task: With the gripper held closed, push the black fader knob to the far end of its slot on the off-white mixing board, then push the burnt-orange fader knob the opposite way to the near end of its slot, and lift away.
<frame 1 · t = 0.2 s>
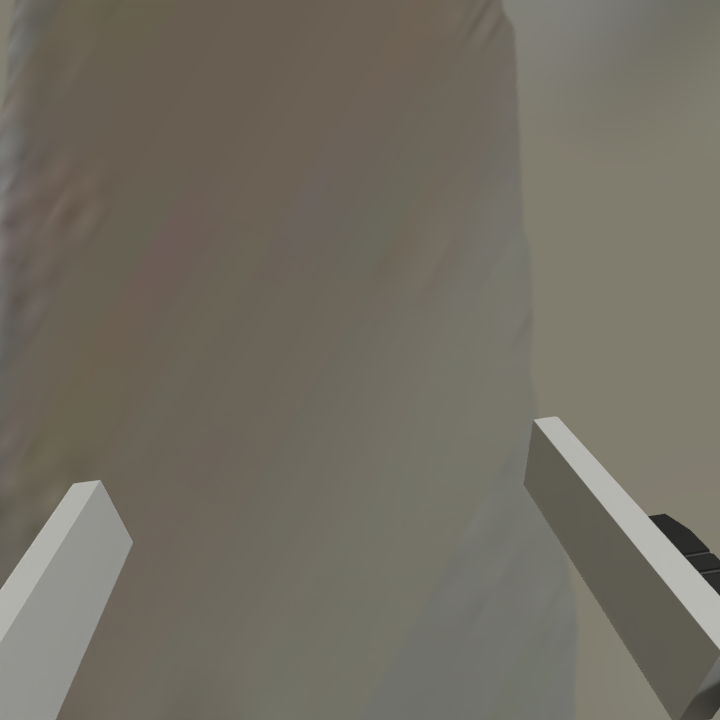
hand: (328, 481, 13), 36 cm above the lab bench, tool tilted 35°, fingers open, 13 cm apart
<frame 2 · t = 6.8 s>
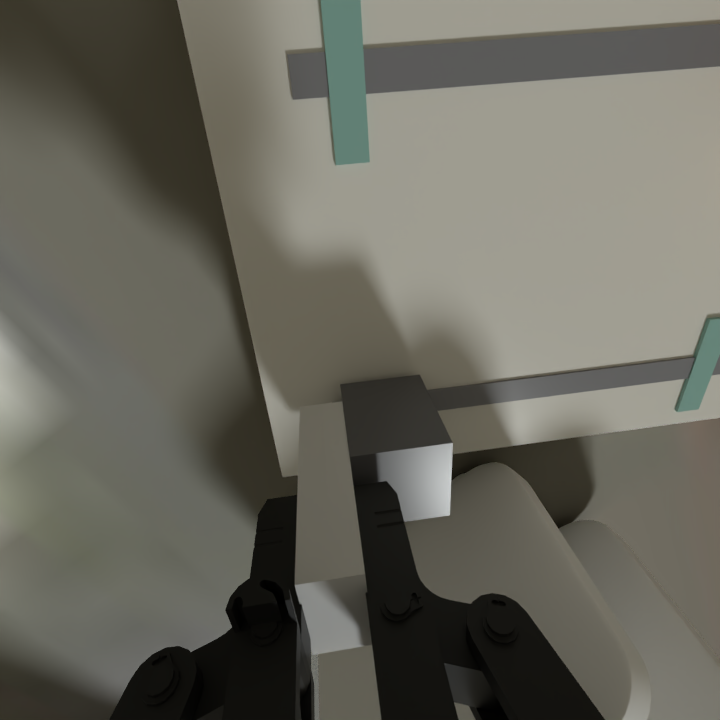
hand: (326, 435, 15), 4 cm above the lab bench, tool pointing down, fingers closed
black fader: (391, 445, 14), point 5 cm above the lab bench, slide at 0.4 cm, touching gripper
cable organizer: (458, 545, 25), on the lab bench
mixing board: (527, 236, 16), on the lab bench
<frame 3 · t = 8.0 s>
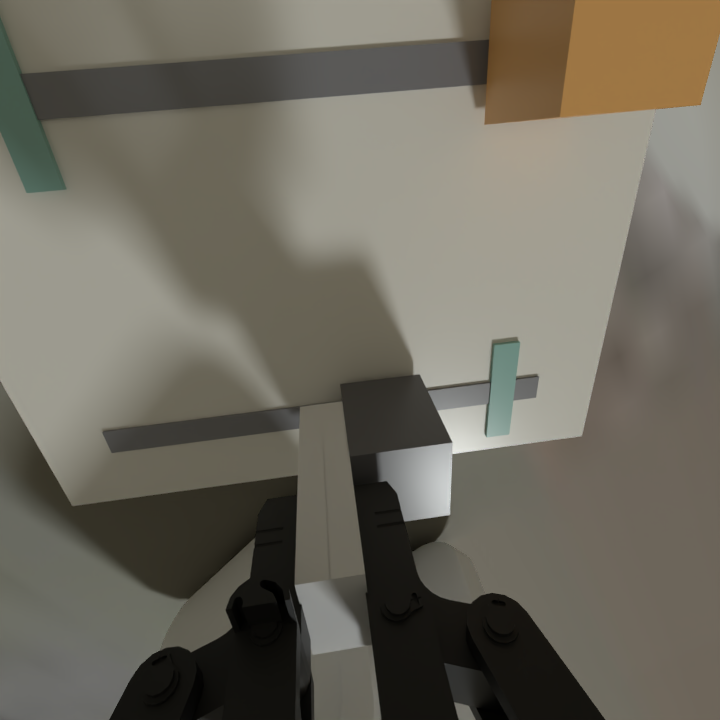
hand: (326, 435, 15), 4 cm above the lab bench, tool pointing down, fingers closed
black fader: (391, 445, 14), point 5 cm above the lab bench, slide at 9.1 cm, touching gripper
orange fader: (585, 40, 9), point 5 cm above the lab bench, slide at 0.0 cm
cable organizer: (318, 566, 25), on the lab bench
mixing board: (310, 258, 16), on the lab bench
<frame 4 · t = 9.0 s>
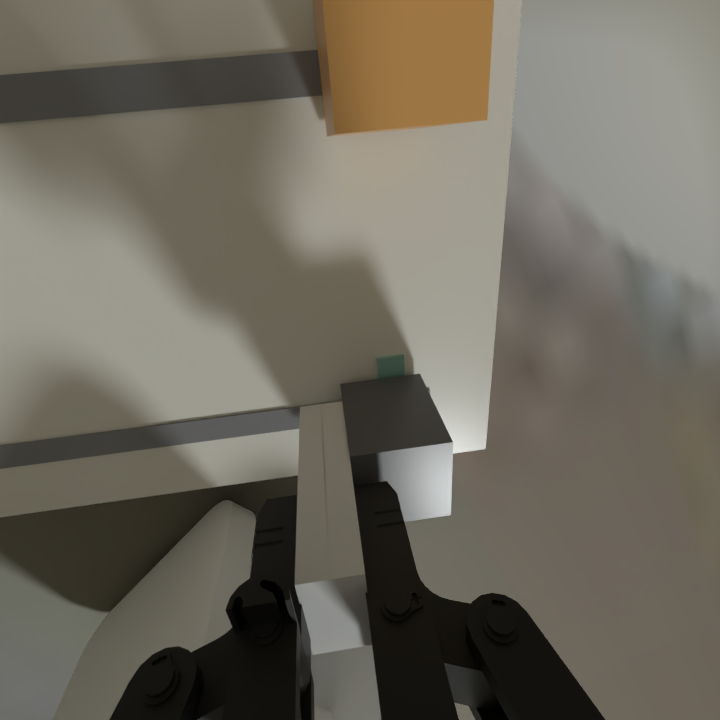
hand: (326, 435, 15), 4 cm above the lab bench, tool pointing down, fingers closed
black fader: (391, 444, 14), point 5 cm above the lab bench, slide at 13.5 cm, touching gripper
orange fader: (390, 51, 9), point 5 cm above the lab bench, slide at 0.0 cm
cable organizer: (244, 578, 24), on the lab bench
mixing board: (191, 271, 16), on the lab bench
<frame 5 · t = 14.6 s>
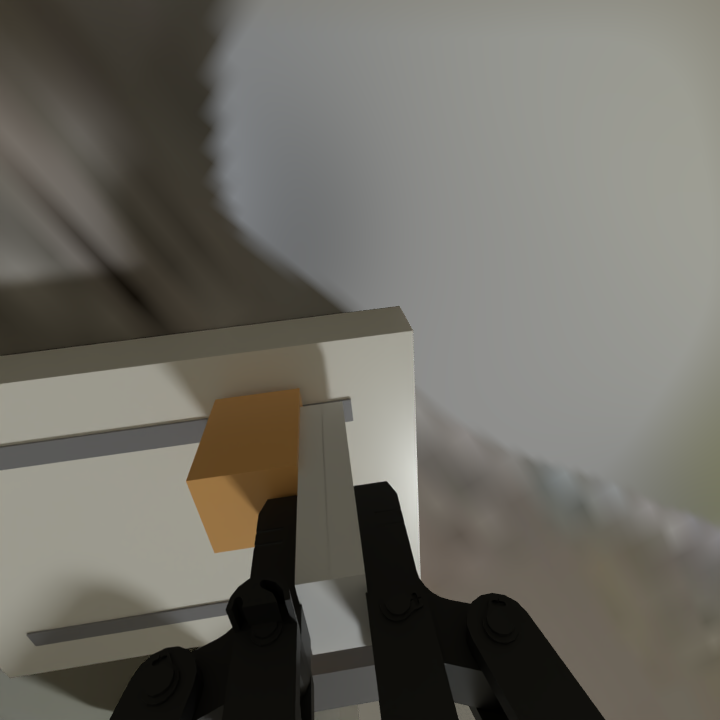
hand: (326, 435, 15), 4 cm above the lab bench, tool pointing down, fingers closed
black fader: (341, 638, 19), point 5 cm above the lab bench, slide at 13.7 cm
orange fader: (260, 463, 14), point 5 cm above the lab bench, slide at 1.8 cm, touching gripper
cable organizer: (235, 682, 29), on the lab bench
mixing board: (187, 494, 20), on the lab bench
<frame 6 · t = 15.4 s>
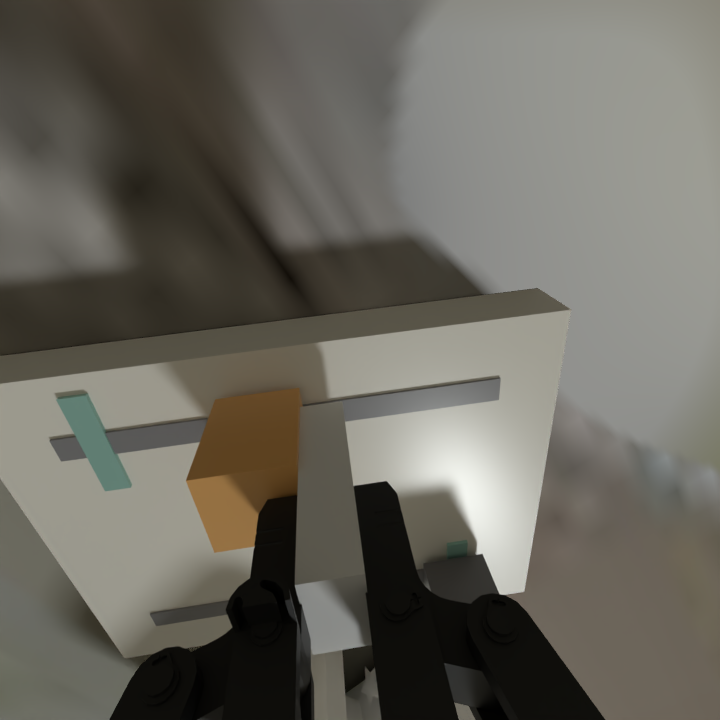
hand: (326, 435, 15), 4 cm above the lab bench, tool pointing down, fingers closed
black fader: (465, 617, 19), point 5 cm above the lab bench, slide at 13.7 cm
orange fader: (260, 463, 14), point 5 cm above the lab bench, slide at 7.7 cm, touching gripper
cable organizer: (317, 667, 30), on the lab bench
mixing board: (306, 476, 21), on the lab bench
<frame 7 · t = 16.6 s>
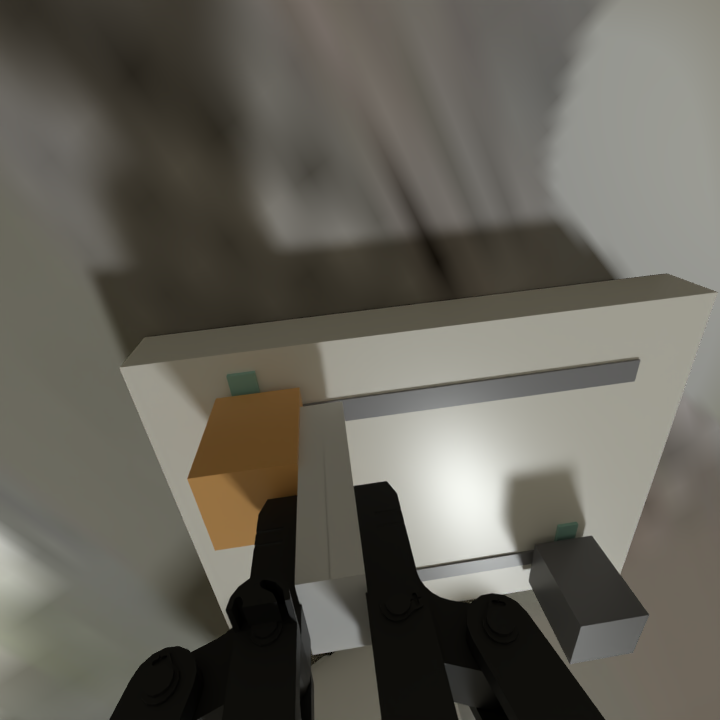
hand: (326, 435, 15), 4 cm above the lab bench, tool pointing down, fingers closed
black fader: (581, 596, 20), point 5 cm above the lab bench, slide at 13.7 cm
orange fader: (260, 462, 14), point 5 cm above the lab bench, slide at 13.5 cm, touching gripper
cable organizer: (395, 652, 30), on the lab bench
mixing board: (418, 459, 21), on the lab bench
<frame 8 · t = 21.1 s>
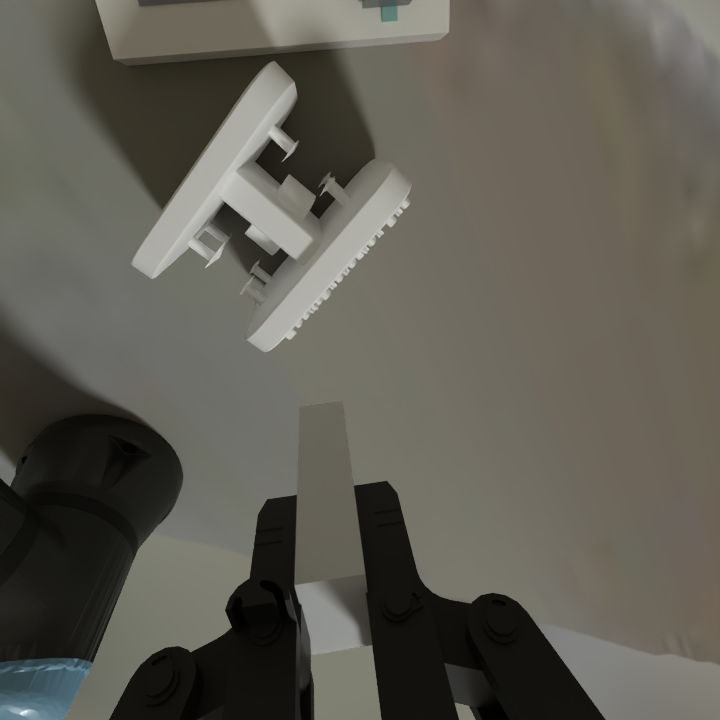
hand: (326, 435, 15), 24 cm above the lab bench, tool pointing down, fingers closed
cable organizer: (282, 204, 34), on the lab bench
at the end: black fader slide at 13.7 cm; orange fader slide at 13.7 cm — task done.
